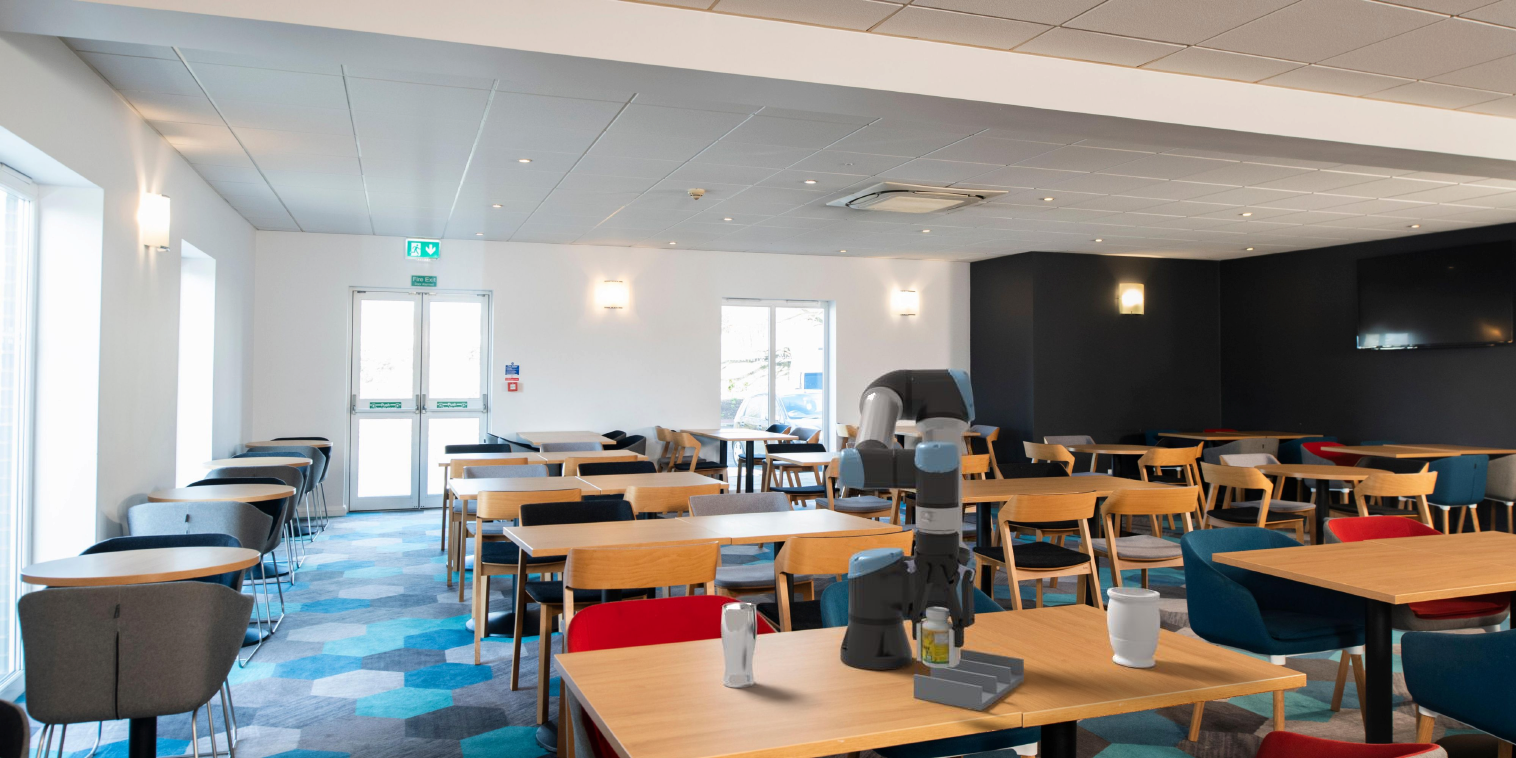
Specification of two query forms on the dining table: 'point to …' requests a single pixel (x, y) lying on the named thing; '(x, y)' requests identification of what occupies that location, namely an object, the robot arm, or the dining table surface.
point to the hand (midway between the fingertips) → (937, 661)
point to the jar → (1133, 625)
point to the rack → (971, 680)
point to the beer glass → (738, 643)
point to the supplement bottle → (936, 637)
